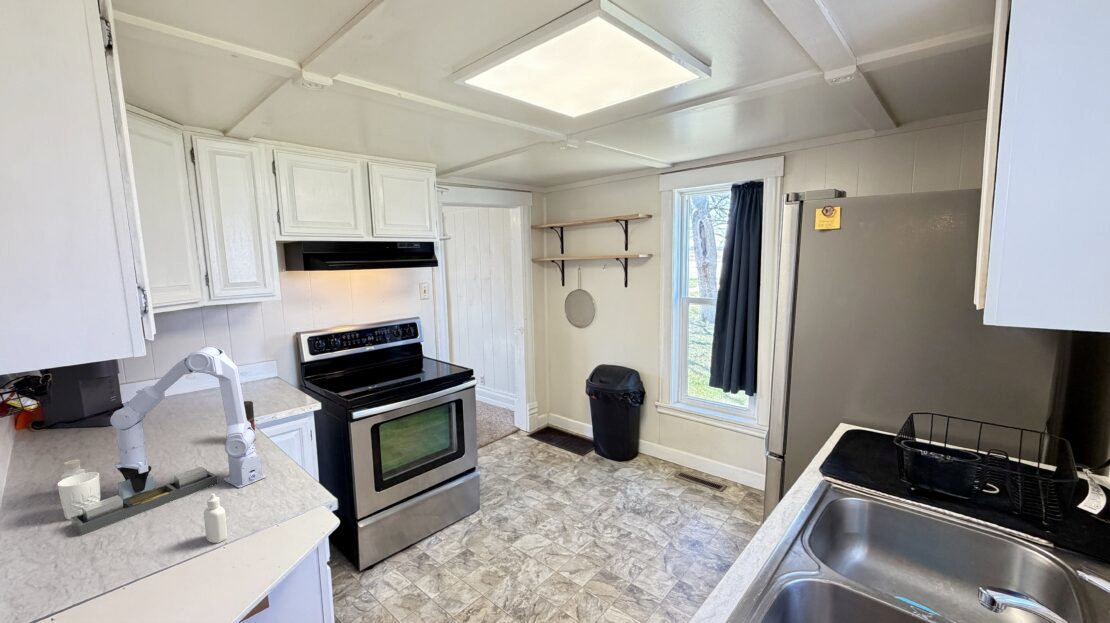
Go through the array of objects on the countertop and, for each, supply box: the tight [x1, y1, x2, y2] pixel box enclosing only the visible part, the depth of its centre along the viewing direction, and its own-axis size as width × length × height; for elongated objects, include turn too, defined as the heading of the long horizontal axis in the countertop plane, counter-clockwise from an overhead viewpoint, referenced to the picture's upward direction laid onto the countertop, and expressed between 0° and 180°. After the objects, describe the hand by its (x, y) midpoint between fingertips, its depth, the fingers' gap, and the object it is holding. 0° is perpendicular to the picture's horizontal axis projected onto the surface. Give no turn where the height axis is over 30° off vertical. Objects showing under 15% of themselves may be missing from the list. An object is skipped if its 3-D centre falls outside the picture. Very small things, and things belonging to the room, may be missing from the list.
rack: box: [70, 466, 219, 536], centre depth 128 cm, size 7×30×5 cm, turn 150°
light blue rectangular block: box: [117, 473, 155, 499], centre depth 133 cm, size 4×7×4 cm, turn 149°
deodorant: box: [243, 400, 257, 442], centre depth 170 cm, size 6×6×15 cm
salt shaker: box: [60, 458, 86, 481], centre depth 134 cm, size 4×4×10 cm
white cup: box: [56, 471, 101, 521], centre depth 123 cm, size 8×8×10 cm
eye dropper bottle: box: [203, 493, 228, 544], centre depth 113 cm, size 4×6×12 cm
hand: (136, 489), depth 133 cm, fingers closed on light blue rectangular block, 3 cm apart
